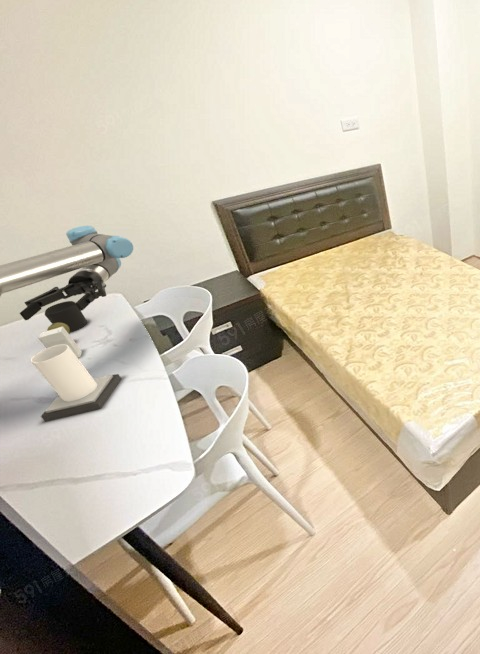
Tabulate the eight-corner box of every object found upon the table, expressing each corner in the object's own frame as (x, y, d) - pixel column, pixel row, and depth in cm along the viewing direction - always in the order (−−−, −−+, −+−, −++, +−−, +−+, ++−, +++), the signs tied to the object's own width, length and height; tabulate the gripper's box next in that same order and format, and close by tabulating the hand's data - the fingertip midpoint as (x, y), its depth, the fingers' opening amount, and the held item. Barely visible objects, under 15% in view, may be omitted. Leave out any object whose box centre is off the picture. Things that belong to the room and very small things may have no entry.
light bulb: (62, 351, 149) (46, 330, 144) (57, 346, 152) (41, 326, 147) (81, 342, 154) (66, 321, 149) (75, 338, 156) (60, 318, 151)
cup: (62, 406, 121) (28, 366, 113) (63, 391, 126) (31, 353, 118) (97, 391, 125) (68, 353, 117) (97, 378, 131) (69, 340, 123)
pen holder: (95, 320, 167) (81, 300, 162) (75, 333, 159) (61, 313, 154) (72, 321, 167) (58, 301, 162) (51, 335, 159) (36, 314, 154)
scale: (44, 422, 120) (38, 414, 118) (71, 390, 131) (65, 383, 130) (101, 409, 123) (95, 401, 122) (122, 378, 135) (117, 371, 133)
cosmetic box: (82, 351, 149) (63, 325, 143) (80, 357, 146) (61, 331, 140) (60, 358, 146) (40, 332, 140) (58, 364, 143) (37, 338, 137)
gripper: (136, 281, 144) (107, 312, 126) (50, 296, 137) (8, 330, 120) (125, 263, 140) (94, 293, 123) (37, 277, 134) (-9, 310, 116)
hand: (51, 311), depth 121 cm, fingers open, 13 cm apart
